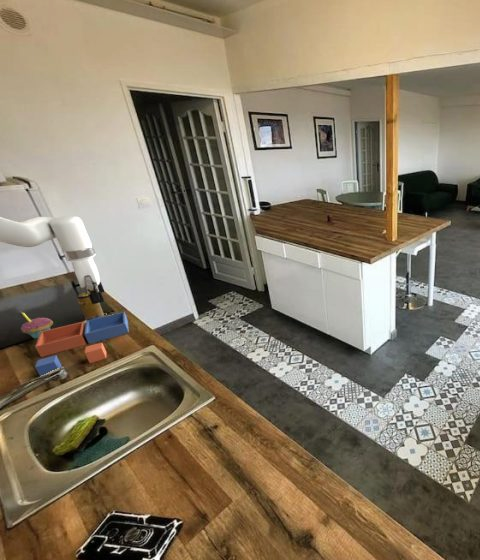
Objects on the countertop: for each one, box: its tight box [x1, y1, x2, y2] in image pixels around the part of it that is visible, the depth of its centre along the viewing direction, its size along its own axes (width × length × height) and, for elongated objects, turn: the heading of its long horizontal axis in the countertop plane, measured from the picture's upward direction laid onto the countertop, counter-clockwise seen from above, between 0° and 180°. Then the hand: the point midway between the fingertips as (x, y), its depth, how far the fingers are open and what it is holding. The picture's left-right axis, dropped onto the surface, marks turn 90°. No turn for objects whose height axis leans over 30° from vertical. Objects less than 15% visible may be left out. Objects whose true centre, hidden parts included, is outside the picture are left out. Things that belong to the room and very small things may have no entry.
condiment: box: [77, 291, 107, 324], centre depth 134 cm, size 7×8×12 cm
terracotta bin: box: [35, 320, 88, 358], centre depth 119 cm, size 12×12×4 cm
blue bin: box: [85, 311, 130, 345], centre depth 126 cm, size 12×12×4 cm
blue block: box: [34, 354, 62, 376], centre depth 104 cm, size 4×4×4 cm
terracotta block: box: [84, 342, 107, 364], centre depth 111 cm, size 4×4×4 cm
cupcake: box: [20, 311, 54, 339], centre depth 122 cm, size 9×8×12 cm
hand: (98, 297), depth 112 cm, fingers open, 9 cm apart
